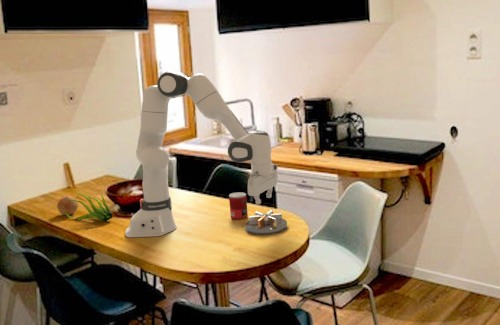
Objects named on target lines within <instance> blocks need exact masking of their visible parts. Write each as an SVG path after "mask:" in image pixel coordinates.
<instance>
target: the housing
mask: <svg viewBox="0 0 500 325" xmlns="http://www.w3.org/2000/svg"><path fill="white" fill-rule="evenodd" d="M287 228H288V221H287V220H286V219H285V218H283V217H282V222H277V225H276V223H274V226H271V225H269V224H268V225H264V226H263V227H262V228H258V224H253V225H250V221H249V220H247V221H246V222H245V228H244V229H245V231H246V232H247V233H249V234H251V235H257V236H269V235H270V236H272V235H276V234H280V233H282V232H285V230H287Z"/></svg>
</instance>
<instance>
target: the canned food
mask: <svg viewBox="0 0 500 325" xmlns="http://www.w3.org/2000/svg"><path fill="white" fill-rule="evenodd" d="M247 200H248V199H247V193H245V192H242V191H241V192H238V191H237V192H232V193H229V195H228V201H229V210H230V218H231V220H232V219H233V220H234V221H236V220H237V221H239V220H244V219H247V217H248V215H249V214H248V201H247Z"/></svg>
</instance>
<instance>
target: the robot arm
mask: <svg viewBox="0 0 500 325" xmlns="http://www.w3.org/2000/svg"><path fill="white" fill-rule="evenodd" d="M185 96H188V97H189V98H190V99H191V101H192V102H193V104H194V105H195V106H196V109H198V111H199V112H200V114H202V115H203V117H204V118H206V119H208V120H213V121H216V122H219V123H221V125H223V127H225V129H226V130H227V131H228V132H229V134H230V135H231V137H232V138H233V139H234V140H233V141H232V142H231V143H230V144H229V145H228V146H227V154H228V157H229V159H230V161H233V162H235V163H245V162H248V161H249V162H250V167H251V169H250V170H251V173H250V176H249V178H248V180H247V195H248V196H249V197H253V198H254V200H255V204H256V205H261V204H262V199H260V196H261V195H260V194H262V193H265V191H267V192H266V198H267V199H271V198H272V193H273V187H275V186H277V184H278V182H279V181H278V163H276V164H275V163H273V160H272V156H271V155H272V145H271V138H270V137H271V136H270V135H269V133H267V132H266V131H263V130H251V131H250V132H249V131H247V130H246V129H245V127H244V125H243V124H242V123H241V122H240V120H239V119H238V117H237V116H236V115H235V113H234V112H233V111H232V110H231V109H230V108H229V106H228V104H226V102H225V100H224V98H223V97H222V96H221V94H220V93H219V91H218V89H217V87H216V86H215V85H214V83H213V82H212V81H211V80H210V79H209V78H208V77H207V76H206V75H205V74H203V73H196V74H192V75H190V76H189V75H188V74H186V73H185V72H183V71H179V70H169V71H165V72H163V73H162V74H160V75H159V77H158V80H157V85H155V84H154V85H153V84H152V85H149V86H147V87H146V88H145V89H144V93H143V97H142V103H141V113H140V114H141V116H140V130H139V134H138V135H139V136H138V140H137V147H136V154H135V156H136V159H137V161H138V162H139V163H140V164H141V165H142V191H143V198H140V199H139V206H140V209H139V210H138V211H137V212H136V213H134V214H133V215H132V217H131V218H130V221H129V226H128V227H126V229H125V237H127V238H144V237H146V238H149V237H161V236H163V235H165V234H168V233H170V232H171V233H172V231H175V229H177V224H176V223H175V219H174V216H173V212H172V211H173V210H172V209H173V206H172V204H173V203H172V199H171V196H170V191H169V190H170V188H169V177H168V176H169V162H170V158H169V157H170V156H169V155H168V152H167V150H166V149H165V148H164V147H163V143H164V140H165V135H166V133H167V128H168V127H167V126H168V112H169V109H168V108H169V103H170V100H172V99H175V98H181V97H185Z"/></svg>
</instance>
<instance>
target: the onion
mask: <svg viewBox="0 0 500 325" xmlns="http://www.w3.org/2000/svg"><path fill="white" fill-rule="evenodd" d="M66 198H67V199H66ZM69 199H71V200H69ZM72 200H76V199H75V197H73V196H72V195H69V194H68V195H67V194H66V195H64V196H62V197H61V198H60V199H59V200H58V201H57V204H56V208H57V210H58V212H59V214H61V215H64V216H67V215H66V214H68V215H69V216H71V214H72V215H73V214H74V213H75V212H76V211H77V210H78V207H79V205H78V202H76V201H72ZM64 213H66V214H64Z"/></svg>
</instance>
